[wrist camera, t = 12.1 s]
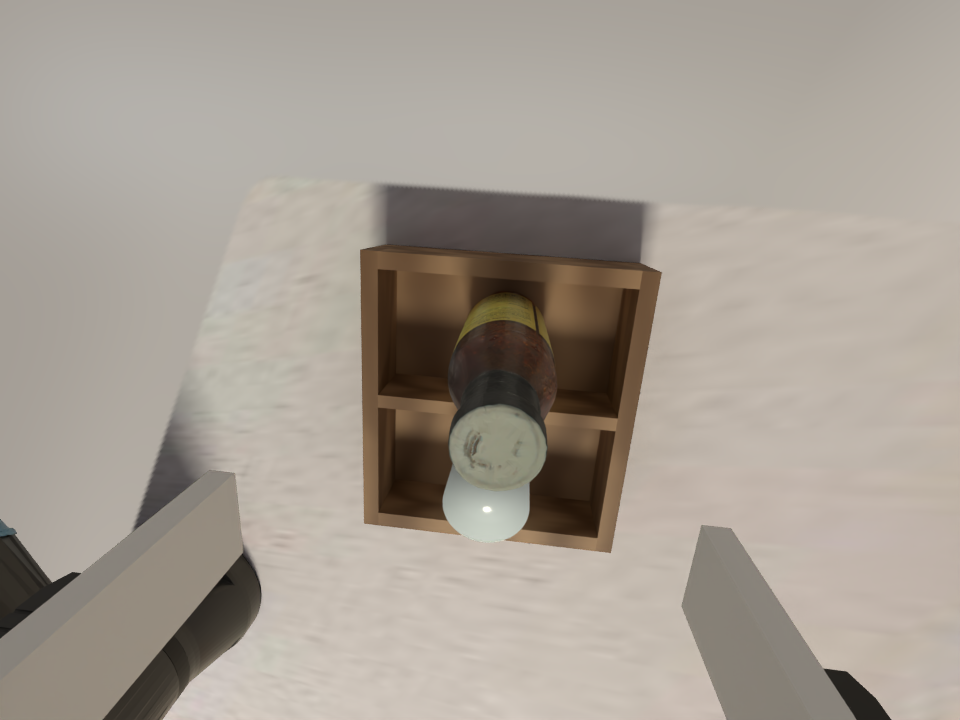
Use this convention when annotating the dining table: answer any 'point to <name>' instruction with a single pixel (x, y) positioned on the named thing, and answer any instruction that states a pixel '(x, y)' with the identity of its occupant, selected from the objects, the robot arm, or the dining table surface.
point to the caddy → (430, 409)
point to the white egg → (484, 509)
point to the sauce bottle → (501, 393)
